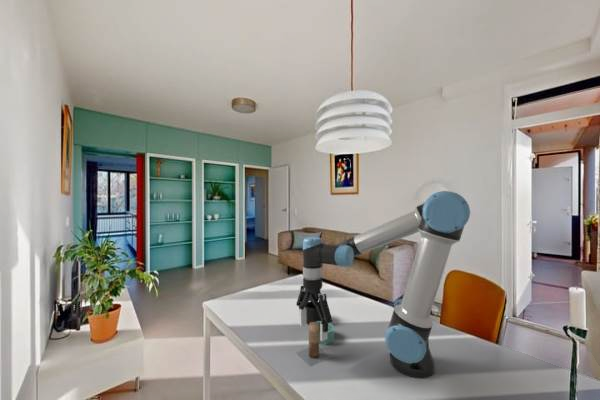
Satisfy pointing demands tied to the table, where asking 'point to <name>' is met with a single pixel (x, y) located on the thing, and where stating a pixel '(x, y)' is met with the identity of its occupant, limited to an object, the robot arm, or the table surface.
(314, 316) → the mug
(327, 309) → the robot arm
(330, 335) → the teal octagonal bowl
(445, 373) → the table surface
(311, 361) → the coaster
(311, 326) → the dowel
